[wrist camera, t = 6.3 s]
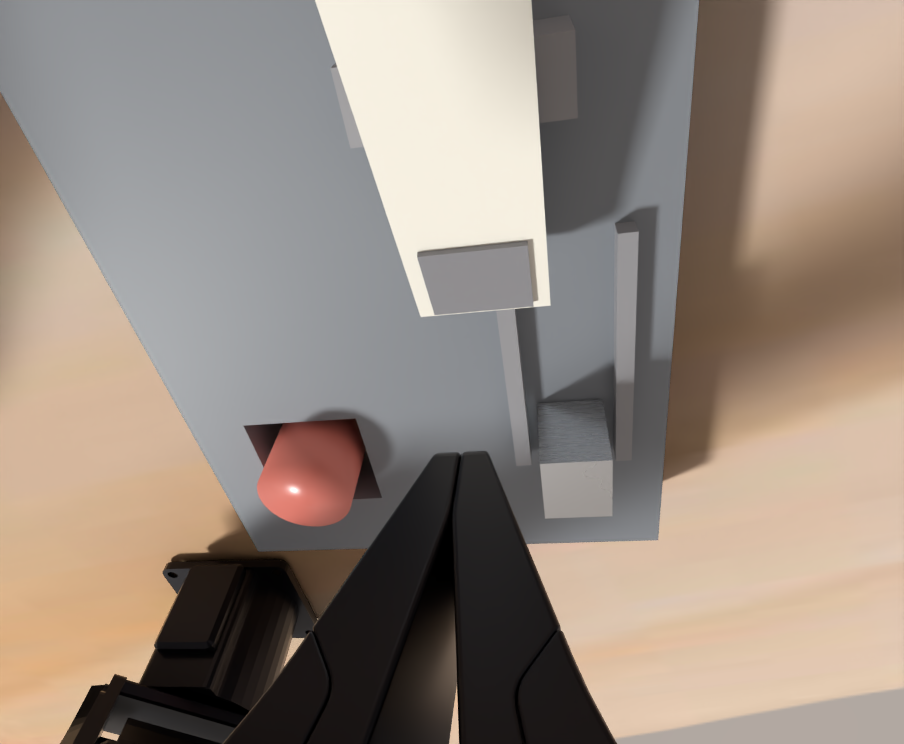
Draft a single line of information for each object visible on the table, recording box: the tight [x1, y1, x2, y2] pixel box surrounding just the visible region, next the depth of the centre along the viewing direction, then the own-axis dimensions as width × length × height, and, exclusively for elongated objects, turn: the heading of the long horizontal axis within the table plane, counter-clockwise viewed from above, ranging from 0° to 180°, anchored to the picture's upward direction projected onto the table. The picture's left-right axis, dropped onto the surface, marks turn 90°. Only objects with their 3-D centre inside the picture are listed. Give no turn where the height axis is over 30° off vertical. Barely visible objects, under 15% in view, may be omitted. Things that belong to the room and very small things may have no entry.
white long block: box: [315, 0, 551, 317], centre depth 11 cm, size 10×3×2 cm, turn 9°
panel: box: [0, 0, 699, 552], centre depth 18 cm, size 22×16×4 cm
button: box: [257, 419, 366, 526], centre depth 22 cm, size 3×3×4 cm
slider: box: [537, 399, 613, 519], centre depth 19 cm, size 2×2×3 cm
